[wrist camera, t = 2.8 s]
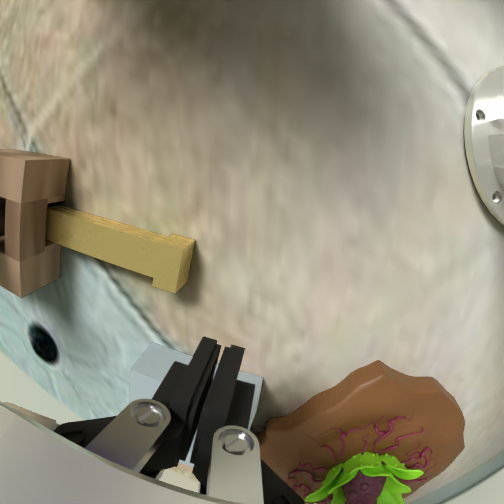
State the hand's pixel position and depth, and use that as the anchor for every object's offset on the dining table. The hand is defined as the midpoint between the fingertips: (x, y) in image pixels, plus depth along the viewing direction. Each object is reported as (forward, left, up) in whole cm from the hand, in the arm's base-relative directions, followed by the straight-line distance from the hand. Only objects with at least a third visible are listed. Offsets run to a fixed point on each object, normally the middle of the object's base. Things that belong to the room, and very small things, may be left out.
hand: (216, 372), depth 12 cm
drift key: (+10, -1, -10) cm, 14 cm away
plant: (-14, +13, -10) cm, 22 cm away
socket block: (+20, -1, -10) cm, 22 cm away
